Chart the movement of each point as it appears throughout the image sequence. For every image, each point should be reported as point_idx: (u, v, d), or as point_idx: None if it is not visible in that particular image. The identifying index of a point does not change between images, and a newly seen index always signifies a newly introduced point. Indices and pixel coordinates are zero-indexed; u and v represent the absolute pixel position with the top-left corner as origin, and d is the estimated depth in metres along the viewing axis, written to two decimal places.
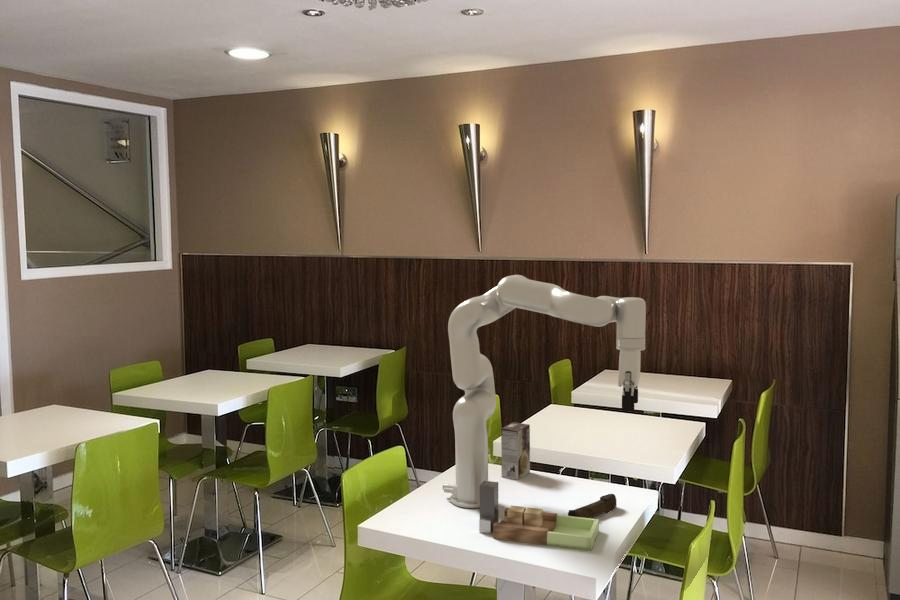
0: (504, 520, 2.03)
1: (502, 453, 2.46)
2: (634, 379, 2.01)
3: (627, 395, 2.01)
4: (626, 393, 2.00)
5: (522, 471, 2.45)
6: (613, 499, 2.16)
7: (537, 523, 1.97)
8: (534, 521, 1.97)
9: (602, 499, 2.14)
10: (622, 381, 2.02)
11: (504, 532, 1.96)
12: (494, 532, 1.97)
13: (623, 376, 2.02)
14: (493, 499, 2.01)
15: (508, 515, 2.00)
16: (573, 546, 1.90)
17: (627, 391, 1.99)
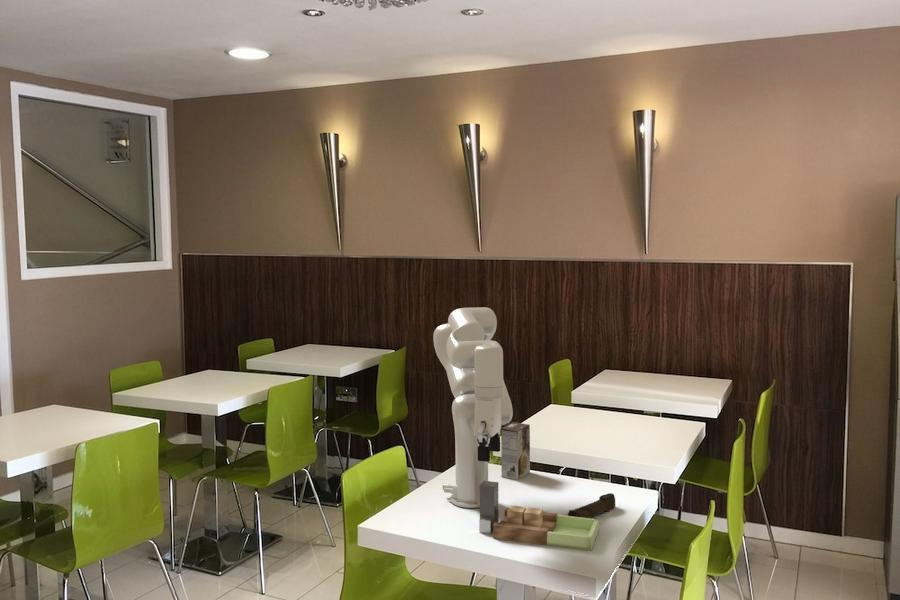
0: (504, 520, 2.03)
1: (502, 453, 2.46)
2: (489, 429, 1.96)
3: (482, 446, 1.96)
4: (480, 444, 1.95)
5: (522, 471, 2.45)
6: (612, 499, 2.16)
7: (537, 523, 1.97)
8: (534, 521, 1.97)
9: (601, 499, 2.14)
10: (477, 431, 1.97)
11: (504, 532, 1.96)
12: (494, 532, 1.97)
13: (478, 426, 1.97)
14: (493, 499, 2.01)
15: (508, 515, 2.00)
16: (573, 546, 1.90)
17: (481, 442, 1.95)
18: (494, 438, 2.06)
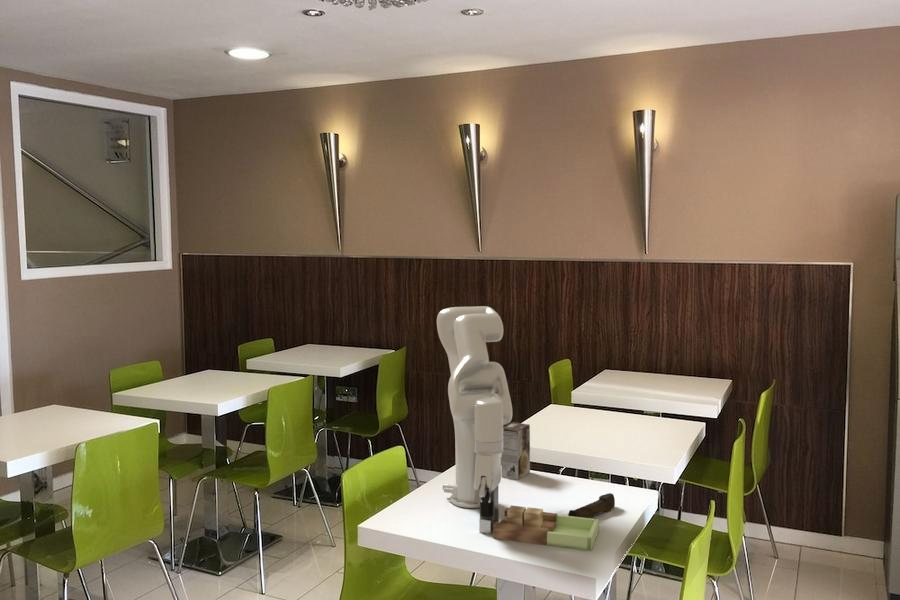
0: (504, 520, 2.03)
1: (502, 453, 2.46)
2: (489, 484, 1.98)
3: (485, 502, 2.00)
4: (483, 500, 1.99)
5: (522, 471, 2.45)
6: (612, 499, 2.16)
7: (537, 523, 1.97)
8: (534, 521, 1.97)
9: (601, 499, 2.14)
10: None
11: (504, 532, 1.96)
12: (494, 532, 1.97)
13: (478, 481, 1.98)
14: (493, 499, 2.01)
15: (508, 515, 2.00)
16: (573, 546, 1.90)
17: (484, 498, 1.99)
18: None
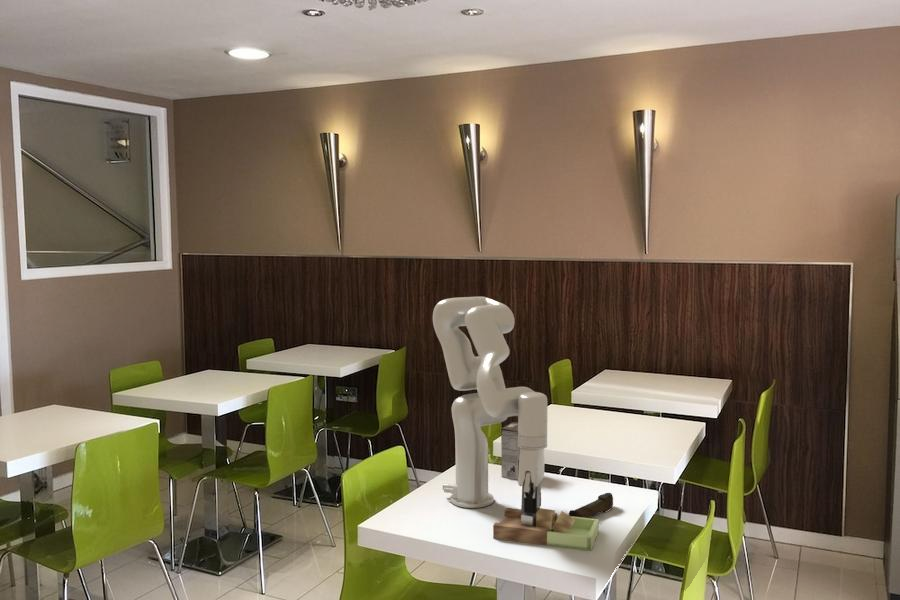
0: (504, 520, 2.03)
1: (502, 453, 2.46)
2: (534, 479, 1.93)
3: (529, 498, 1.96)
4: (527, 496, 1.95)
5: None
6: (610, 498, 2.16)
7: (566, 532, 1.95)
8: (564, 529, 1.95)
9: (600, 498, 2.15)
10: None
11: (504, 532, 1.96)
12: (494, 532, 1.97)
13: (523, 476, 1.94)
14: (536, 495, 1.97)
15: (537, 518, 1.97)
16: (573, 546, 1.90)
17: (528, 494, 1.94)
18: None
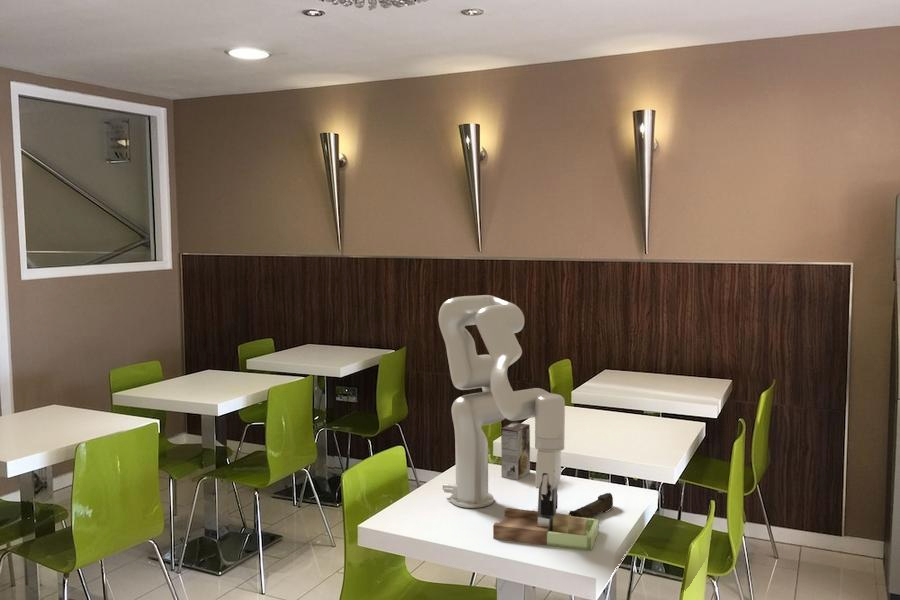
0: (504, 520, 2.03)
1: (502, 453, 2.46)
2: (551, 482, 1.92)
3: (546, 500, 1.95)
4: (544, 498, 1.94)
5: (522, 471, 2.45)
6: (610, 498, 2.17)
7: (582, 534, 1.94)
8: (579, 532, 1.94)
9: (600, 499, 2.15)
10: None
11: (504, 532, 1.96)
12: (494, 532, 1.97)
13: (540, 478, 1.93)
14: (553, 497, 1.95)
15: (554, 523, 1.96)
16: (573, 546, 1.90)
17: (545, 496, 1.93)
18: None
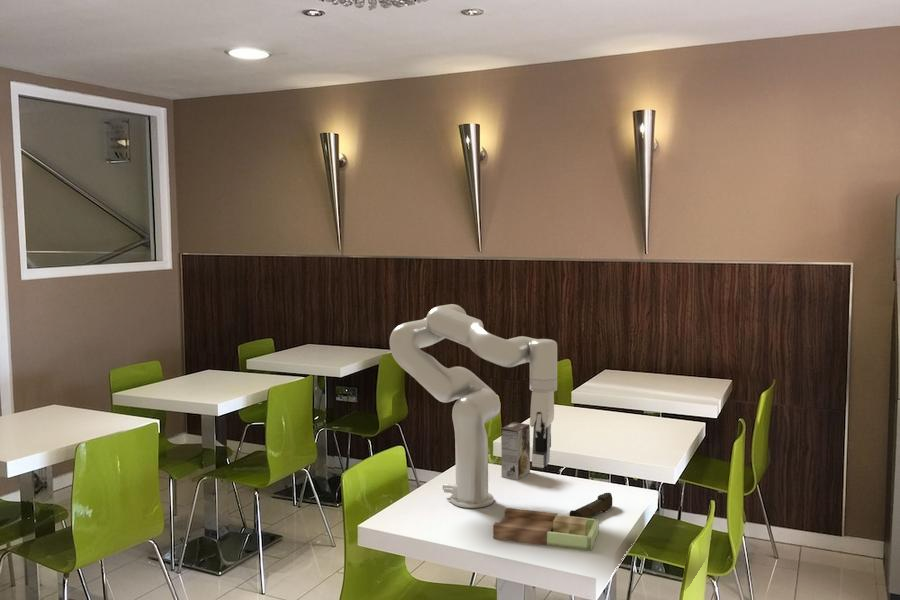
0: (504, 520, 2.03)
1: (502, 453, 2.46)
2: (545, 420, 2.06)
3: (540, 438, 2.08)
4: (538, 436, 2.07)
5: (522, 471, 2.45)
6: (610, 498, 2.17)
7: (582, 534, 1.94)
8: (579, 532, 1.94)
9: (600, 498, 2.15)
10: None
11: (504, 532, 1.96)
12: (494, 532, 1.97)
13: (534, 417, 2.06)
14: (546, 435, 2.09)
15: (554, 526, 1.96)
16: (573, 546, 1.90)
17: (539, 434, 2.07)
18: None
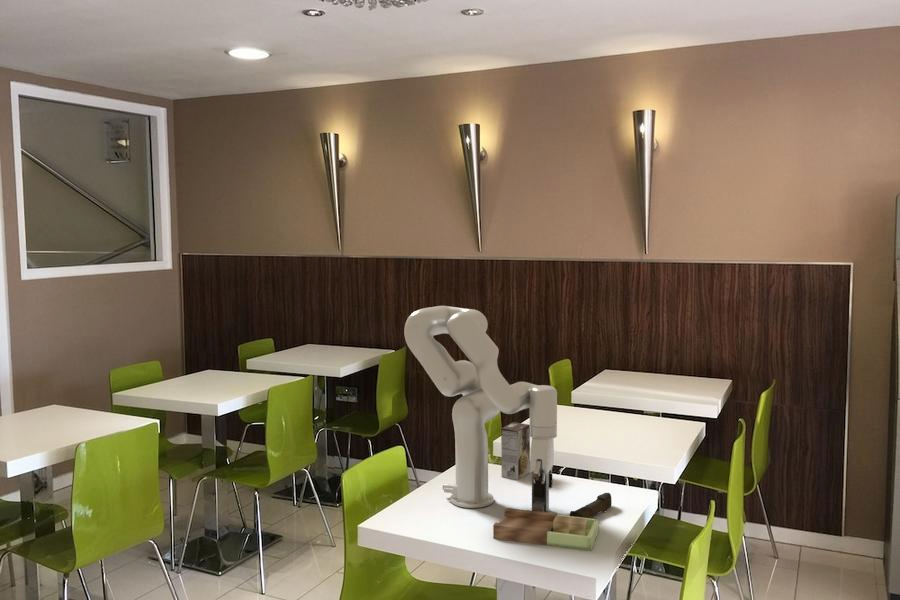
0: (504, 520, 2.03)
1: (502, 453, 2.46)
2: (544, 467, 2.07)
3: (538, 483, 2.07)
4: (537, 481, 2.06)
5: (522, 471, 2.45)
6: (609, 498, 2.17)
7: (582, 534, 1.94)
8: (579, 532, 1.94)
9: (599, 498, 2.15)
10: (533, 469, 2.08)
11: (504, 532, 1.96)
12: (494, 532, 1.97)
13: (534, 464, 2.08)
14: None
15: (554, 526, 1.96)
16: (573, 546, 1.90)
17: (537, 480, 2.06)
18: None
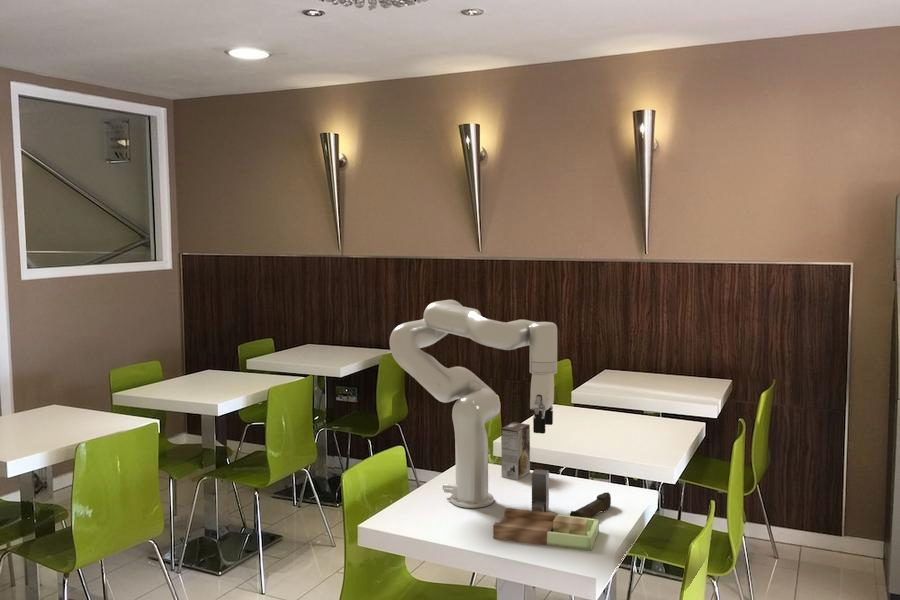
0: (504, 520, 2.03)
1: (502, 453, 2.46)
2: (545, 402, 2.05)
3: (538, 418, 2.05)
4: (536, 416, 2.05)
5: (522, 471, 2.45)
6: (609, 498, 2.17)
7: (582, 534, 1.94)
8: (579, 532, 1.94)
9: (599, 498, 2.15)
10: (533, 404, 2.06)
11: (504, 532, 1.96)
12: (494, 532, 1.97)
13: (534, 399, 2.06)
14: (545, 486, 2.10)
15: (554, 526, 1.96)
16: (573, 546, 1.90)
17: (537, 414, 2.04)
18: (547, 412, 2.15)
